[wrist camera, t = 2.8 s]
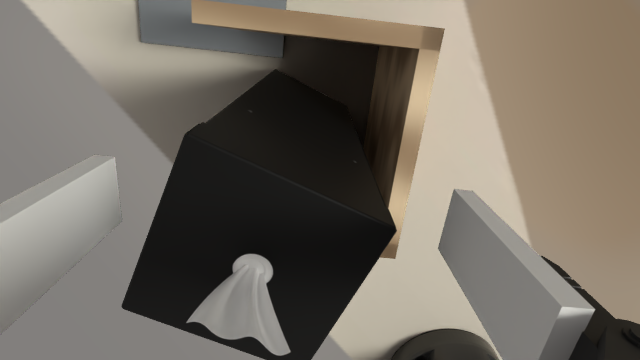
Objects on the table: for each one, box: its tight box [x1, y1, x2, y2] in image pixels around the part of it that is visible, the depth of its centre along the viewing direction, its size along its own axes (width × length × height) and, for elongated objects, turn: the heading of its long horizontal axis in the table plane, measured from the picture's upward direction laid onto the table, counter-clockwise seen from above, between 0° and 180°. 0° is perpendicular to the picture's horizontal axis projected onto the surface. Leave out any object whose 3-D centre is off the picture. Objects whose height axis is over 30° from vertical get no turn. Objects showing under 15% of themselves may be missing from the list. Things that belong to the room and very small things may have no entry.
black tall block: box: [122, 69, 397, 360], centre depth 23 cm, size 8×8×28 cm
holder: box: [191, 0, 445, 259], centre depth 29 cm, size 15×14×14 cm
